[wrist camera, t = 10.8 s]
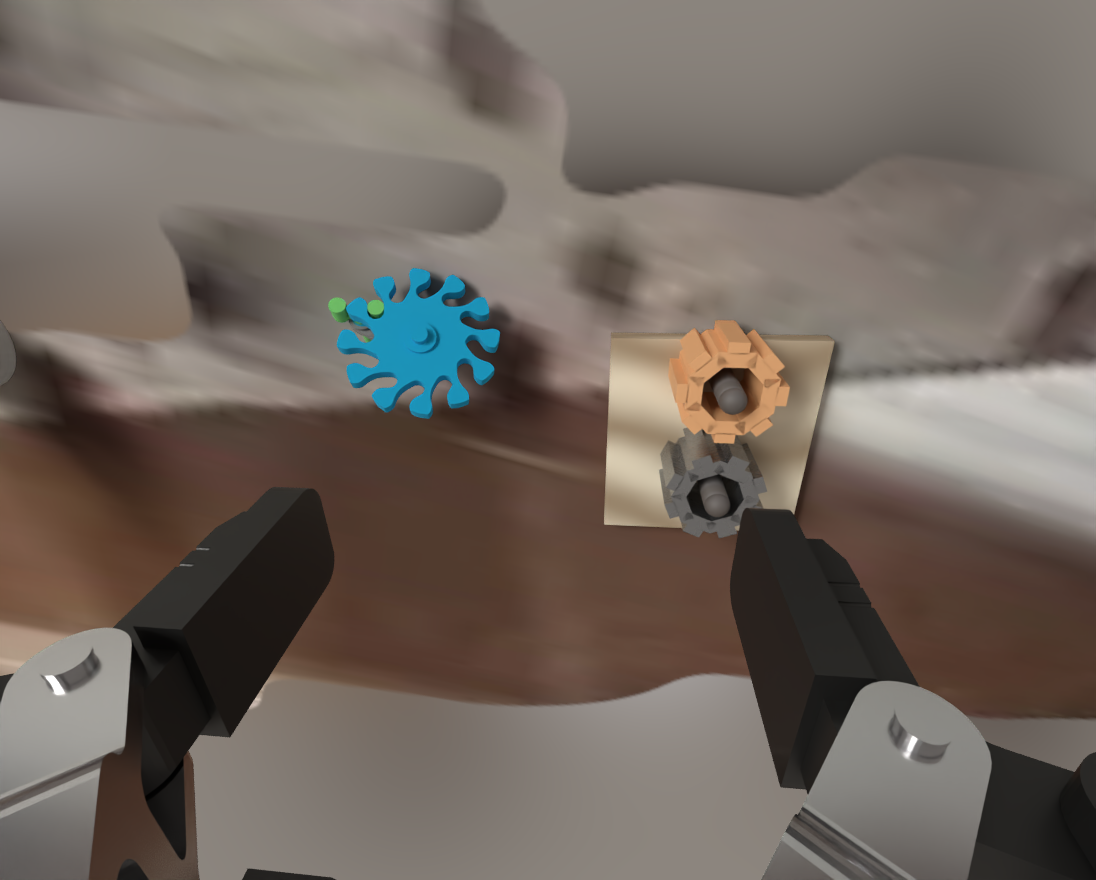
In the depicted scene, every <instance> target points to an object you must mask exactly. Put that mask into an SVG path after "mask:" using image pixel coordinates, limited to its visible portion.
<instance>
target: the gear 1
mask: <svg viewBox="0 0 1096 880" xmlns="http://www.w3.org/2000/svg"><path fill="white" fill-rule="evenodd" d="M680 343H681V345H682V348H683V349H682V350H681V351H680V355H679V359H675V358H670V362H669V372H668V377H669V381H670V384H671V388H672V392H673V396H674V400H675V403H677V406H678V410H679V413H680V417H681V421H682V423H683V424H684V425H685V426H686V427H687V428H688V429H689V430H690V431H691V432H692V433H693V434H694V435H695V434H696V433H697V432H699V431H700V430H701V429H703V430H704V431H705V432H706V433H707V434H711V436H712V439H713V441H714V443H731V444H734V441H735V435H745V434H746V433H747V432H749V431H751V432H752V433H753V434H754V435H755V436H756V437H757V436H758V435H760V434H761V433H763V432H764V431H765V430H767V429H768V428H770V427H771V426H773V424H772V422H771V420H770V419H769V417H770V416H771V415H772V414H774V411H775V406H786V404H787V399H788V395H789V390H790V387H789V385H788V384H787V383H786V381H785V380H784V379H783V377H782V376H781V375H780V373H779V371H780V370H782V369H783V368H784V367H785V366H784V365H783V363H782V362H781V361H780V360H779V359H778V357H777V356H776V355H775V354H774V352H773V351H772V350H771V349H770V347H769V346H768V345H767V344H766V342H765V341H764V340H763V339H762V338H761V337H760V335H759V334H758V333H757V332H756V331H755V330H754V329H753V330H752V331H751V332H749V333H748V334H747V335H745V334H744V332H743V331H742V330H741V328H740V327H739V325H738V324H737V323H736V321H727V320H715V328H714V330H712V329H706V330H705V331H704V332H703V333H702V334H700V333H699V332H698V331H697V330H696V329H695V328H694V329H692V330H691V331H690V332H689V333H688V334H687V335H685V336H684V337H683V338H682V339H681V340H680ZM722 368H745V370H744V376H743V379H742V380H741V381H740V382H739V383H740V385H741V386H742V388H743V390H744V392H745V393H746V395H747V400H748V402H747V406H746V408H745V409H744V410H743V411H742V412H741V413H739V414H735V415H730V414H727V413H725V412H723V411H722V410H721V408H720V407H719V404H718V402H717V400H716V397H715V395H714V393H713V392H704V391H703V385H704V383H705V382H706V381H707V380H708V379H710V378H711V377H712V376H713V375H715V374H716V373H717V372H719V371H720V370H721V369H722Z"/></svg>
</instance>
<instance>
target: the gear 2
mask: <svg viewBox="0 0 1096 880" xmlns="http://www.w3.org/2000/svg"><path fill="white" fill-rule="evenodd" d="M683 431H684V435H685V436H684V437H681V438H679V439H678V440H677V442H676V443H673V442H671V441H667V443H666V445H665V446H664V448H663V450H662V452H661V453H660V456H661V462H662V467H663V469H660V470H659V474H660V481H661V487H662V493H663V500H664V505H665V508H666V510H667V513H668V515H669V518H670V519H671V518H675V517H678V516H679V519H680V521H681V524H682V529H683V531H684V532H687V533H689V534H692V535H694V536H697V537H699V536H700V535H701V533H702V532H703V531H705V532H708V533H713V532H716V531H717V533H718V536H719V538H722V537H726V536H729V535H733V534H737V532H736V529H735V526H739V525H740V521H741V517H742V513H743V511H744V509H745V508H763V506H762V503H761V501H760V499H759V496H758V494H761V493H764V492H767V489H766V485H765V482H764V479H763V476H762V474H761V471H760V469H759V467H758V465H757V463H756V461H755V459H754V457H753V454H752V452H751V450H750V448H749V446H748V444H747V443H745V444H741V442H740V440H739V438H738V436H737V435H735V441H734V444H731V443H714V441H713V439H712V436H711V434H707V433H706V432H705V431H704V430H703V431H702V429H701V430H700V431H699V432H697V433H696V434H695V435H694V434H693V433H692V432H691V431H690V430H689V429H688V428H684V429H683ZM717 474H720V475H722V481H723V484H724V487H725V490H726V492H727V495H728V498H729V501H730V508H729V511H728V512H727V513H726V514H725V515H724V516H721V517H713V516H711V515H709V514H708V513H707V512H706V510H705V508H704V504H703V501H702V497H701V493H700V489H699V486H698V483H696V481H697V480H700V479H704V478H707V477H710V476H714V475H717Z"/></svg>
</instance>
